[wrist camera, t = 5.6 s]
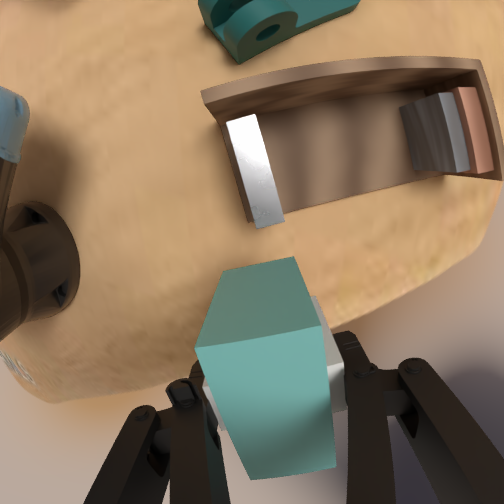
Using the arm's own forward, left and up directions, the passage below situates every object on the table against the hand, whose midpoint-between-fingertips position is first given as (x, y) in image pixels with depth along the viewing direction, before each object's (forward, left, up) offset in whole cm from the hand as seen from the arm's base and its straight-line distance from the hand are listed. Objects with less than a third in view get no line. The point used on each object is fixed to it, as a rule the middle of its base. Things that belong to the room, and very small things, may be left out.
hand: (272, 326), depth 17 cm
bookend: (+1, +9, -14) cm, 16 cm away
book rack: (+11, +10, -15) cm, 21 cm away
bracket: (+10, +26, -16) cm, 32 cm away
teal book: (0, 0, 0) cm, 0 cm away
